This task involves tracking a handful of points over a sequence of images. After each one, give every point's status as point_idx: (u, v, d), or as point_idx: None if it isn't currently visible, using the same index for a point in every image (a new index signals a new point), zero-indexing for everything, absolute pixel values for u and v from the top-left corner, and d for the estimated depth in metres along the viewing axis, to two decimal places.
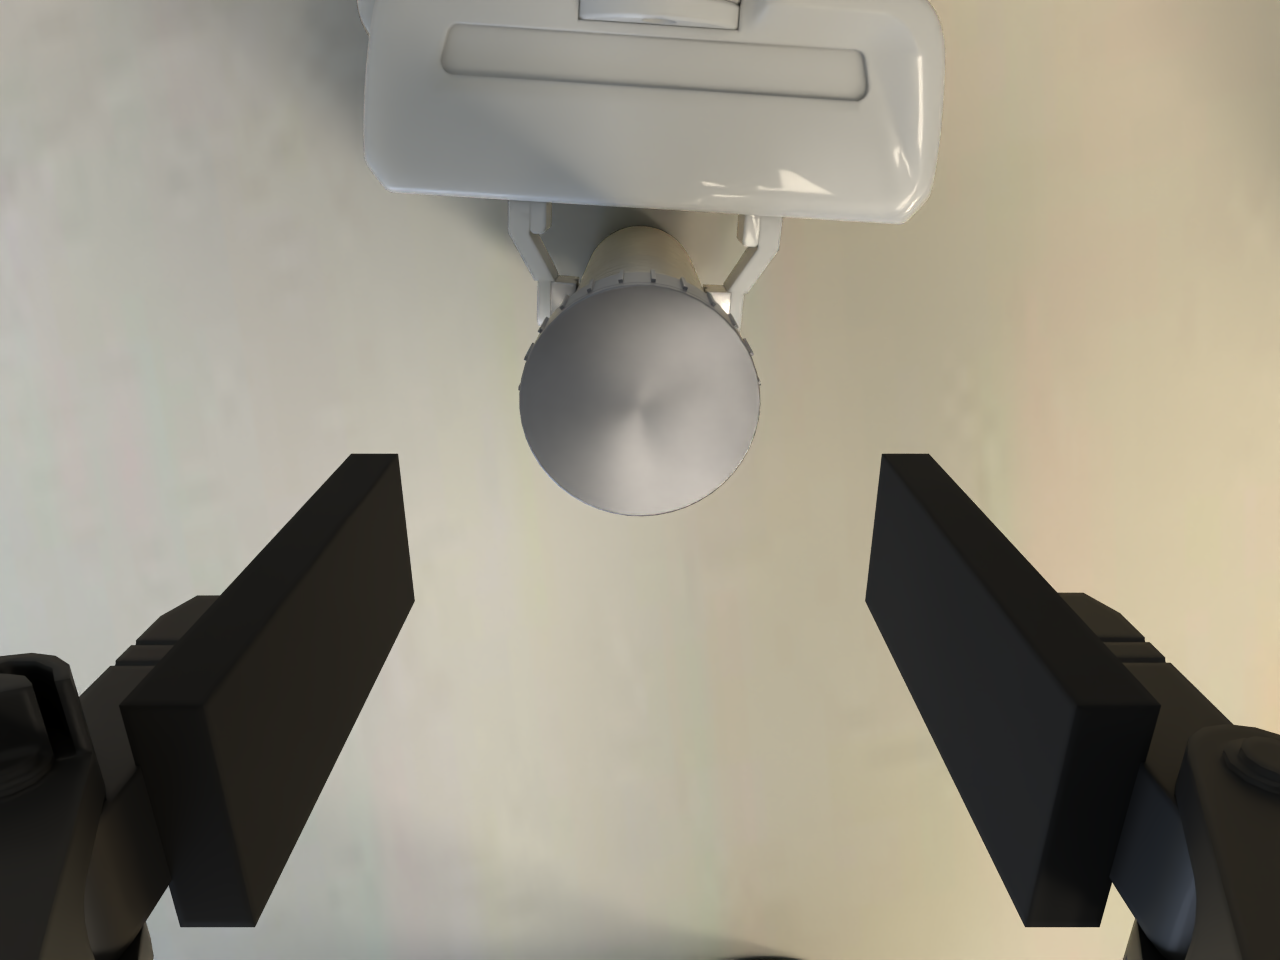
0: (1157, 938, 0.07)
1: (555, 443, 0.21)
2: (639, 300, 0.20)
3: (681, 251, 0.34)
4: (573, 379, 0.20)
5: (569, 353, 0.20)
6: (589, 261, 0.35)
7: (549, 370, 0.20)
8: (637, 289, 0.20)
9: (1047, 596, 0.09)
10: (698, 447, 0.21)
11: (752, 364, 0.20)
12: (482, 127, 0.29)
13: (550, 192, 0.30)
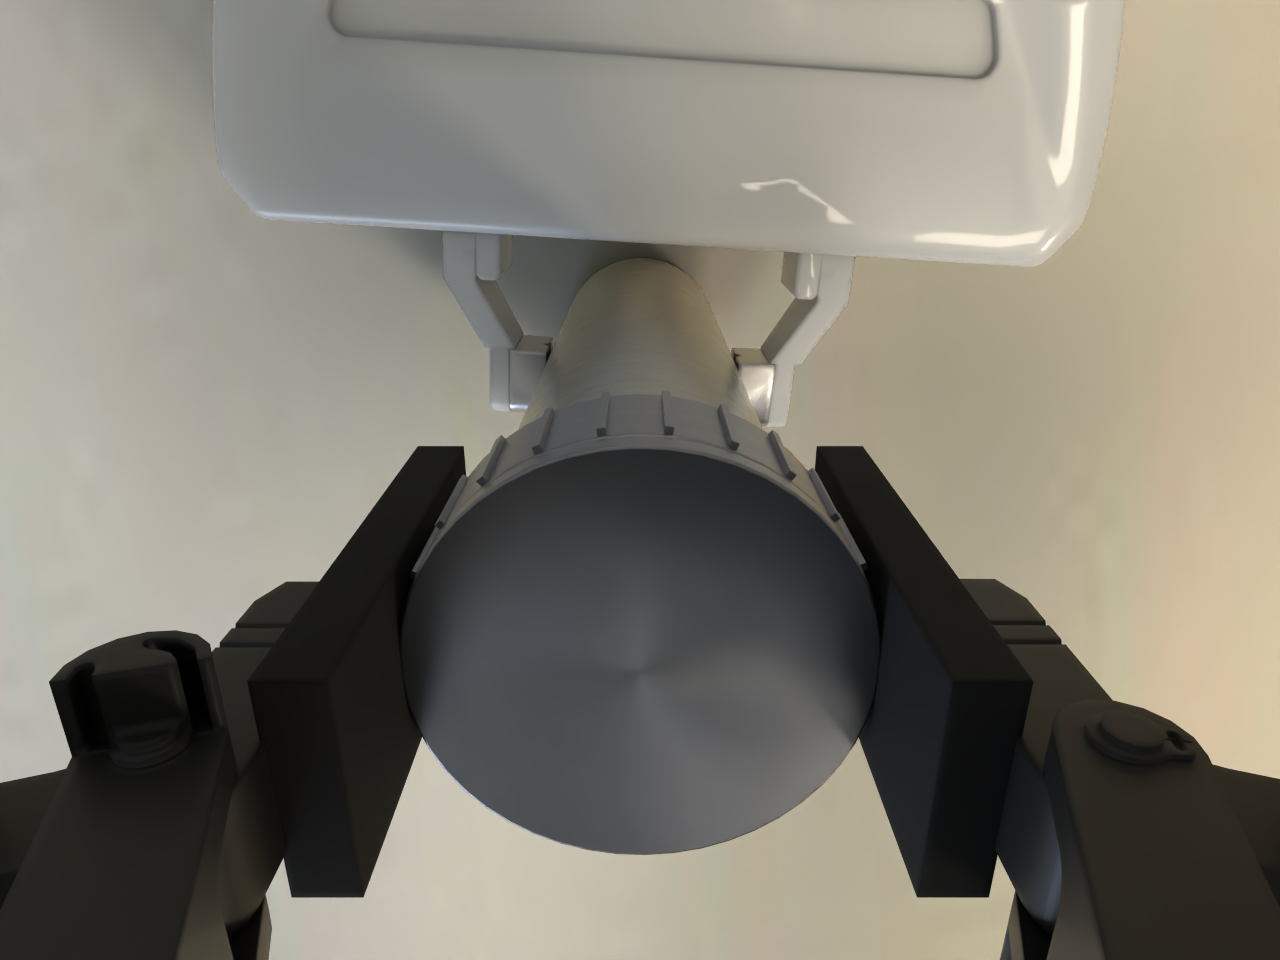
0: (1033, 909, 0.08)
1: (474, 736, 0.11)
2: (640, 476, 0.09)
3: (699, 298, 0.24)
4: (506, 624, 0.10)
5: (496, 576, 0.10)
6: (569, 310, 0.25)
7: (457, 607, 0.10)
8: (636, 454, 0.09)
9: (947, 580, 0.10)
10: (755, 742, 0.11)
11: (870, 597, 0.10)
12: (396, 120, 0.19)
13: (504, 219, 0.19)
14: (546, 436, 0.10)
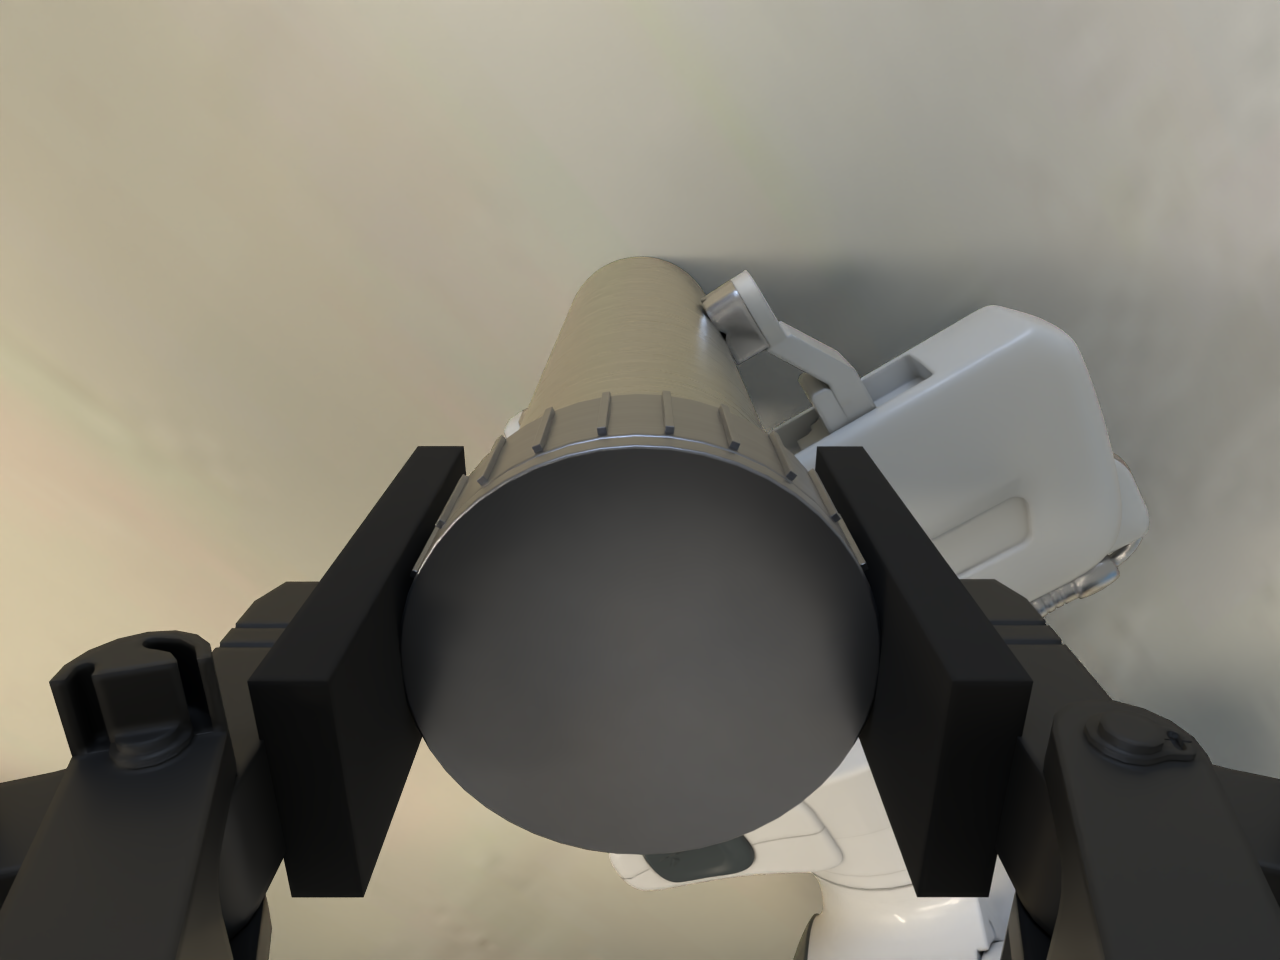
0: (1033, 909, 0.08)
1: (474, 735, 0.11)
2: (640, 476, 0.09)
3: None
4: (506, 623, 0.10)
5: (496, 576, 0.10)
6: None
7: (457, 607, 0.10)
8: (636, 454, 0.09)
9: (947, 580, 0.10)
10: (755, 742, 0.11)
11: (870, 598, 0.10)
12: (950, 470, 0.22)
13: None
14: (546, 436, 0.10)
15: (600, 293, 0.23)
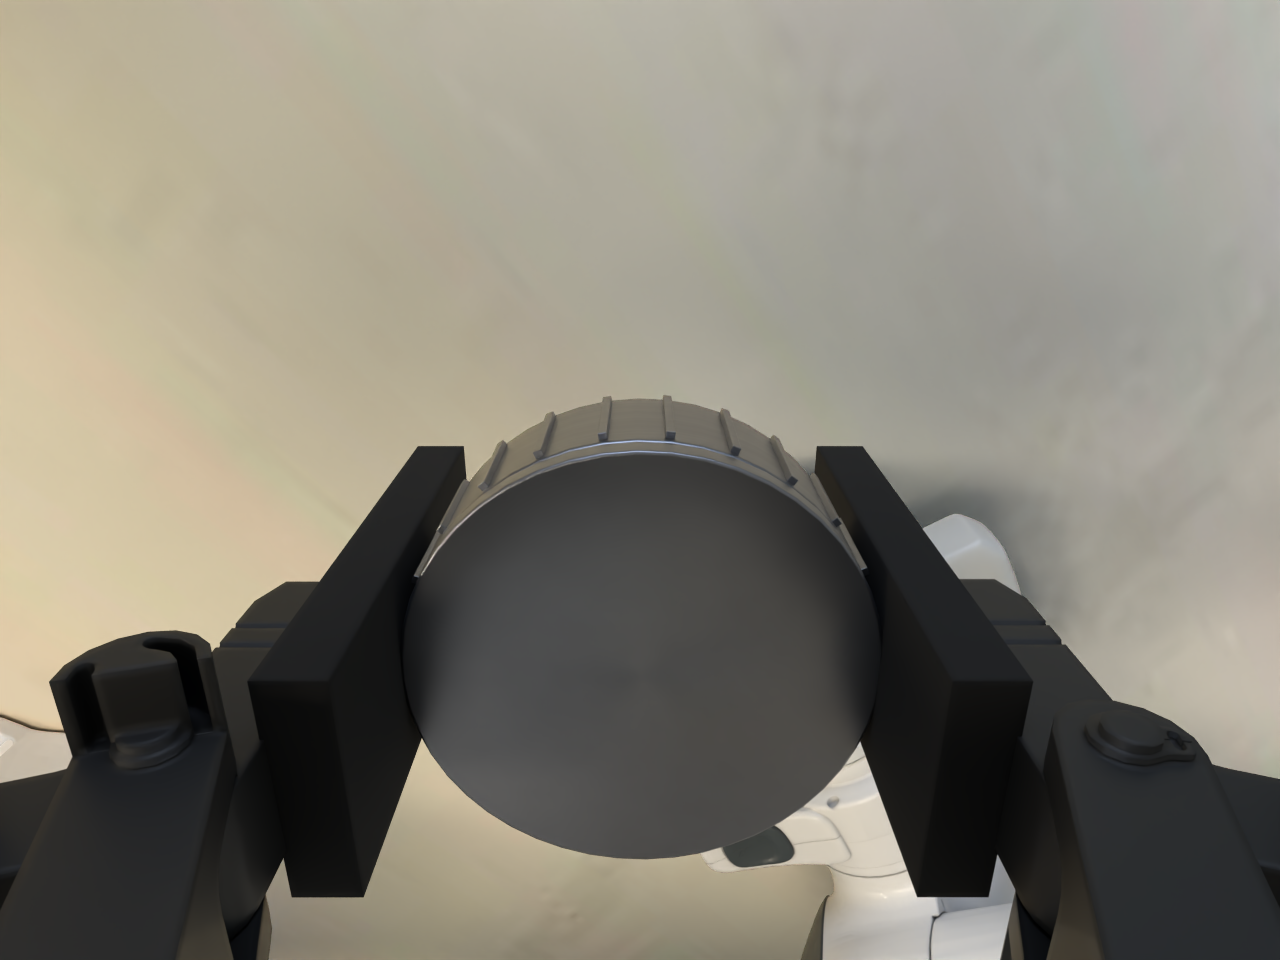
0: (1033, 909, 0.08)
1: (476, 740, 0.11)
2: (641, 482, 0.09)
3: None
4: (507, 629, 0.10)
5: (498, 581, 0.10)
6: None
7: (458, 612, 0.10)
8: (637, 460, 0.09)
9: (947, 581, 0.10)
10: (756, 747, 0.11)
11: (872, 603, 0.10)
12: None
13: None
14: (547, 441, 0.10)
15: None
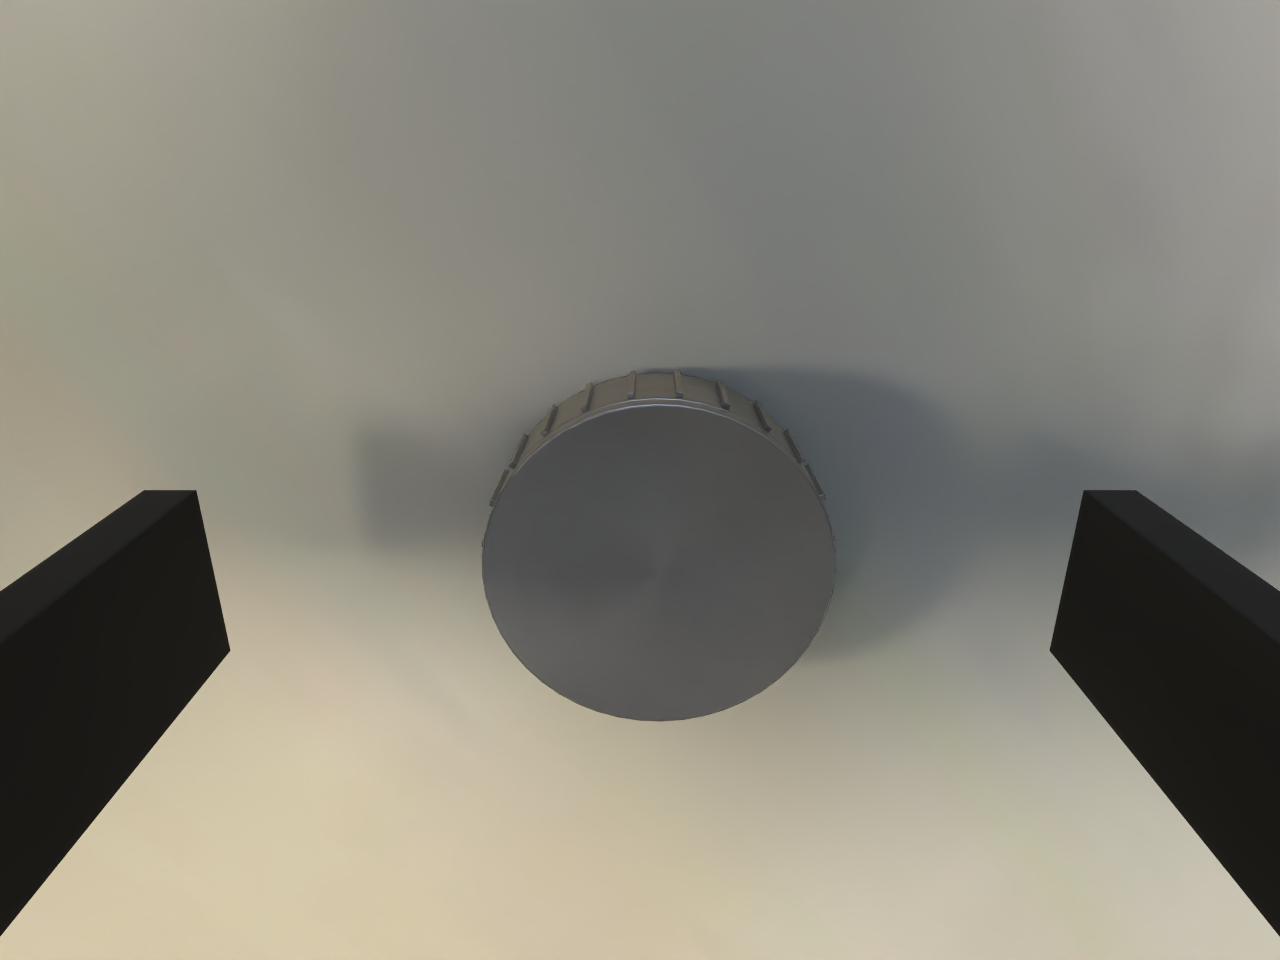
0: None
1: (535, 624, 0.14)
2: (658, 426, 0.13)
3: None
4: (560, 537, 0.14)
5: (554, 501, 0.14)
6: None
7: (525, 524, 0.14)
8: (655, 410, 0.13)
9: None
10: (743, 630, 0.14)
11: (825, 517, 0.14)
12: None
13: None
14: (589, 401, 0.14)
15: None
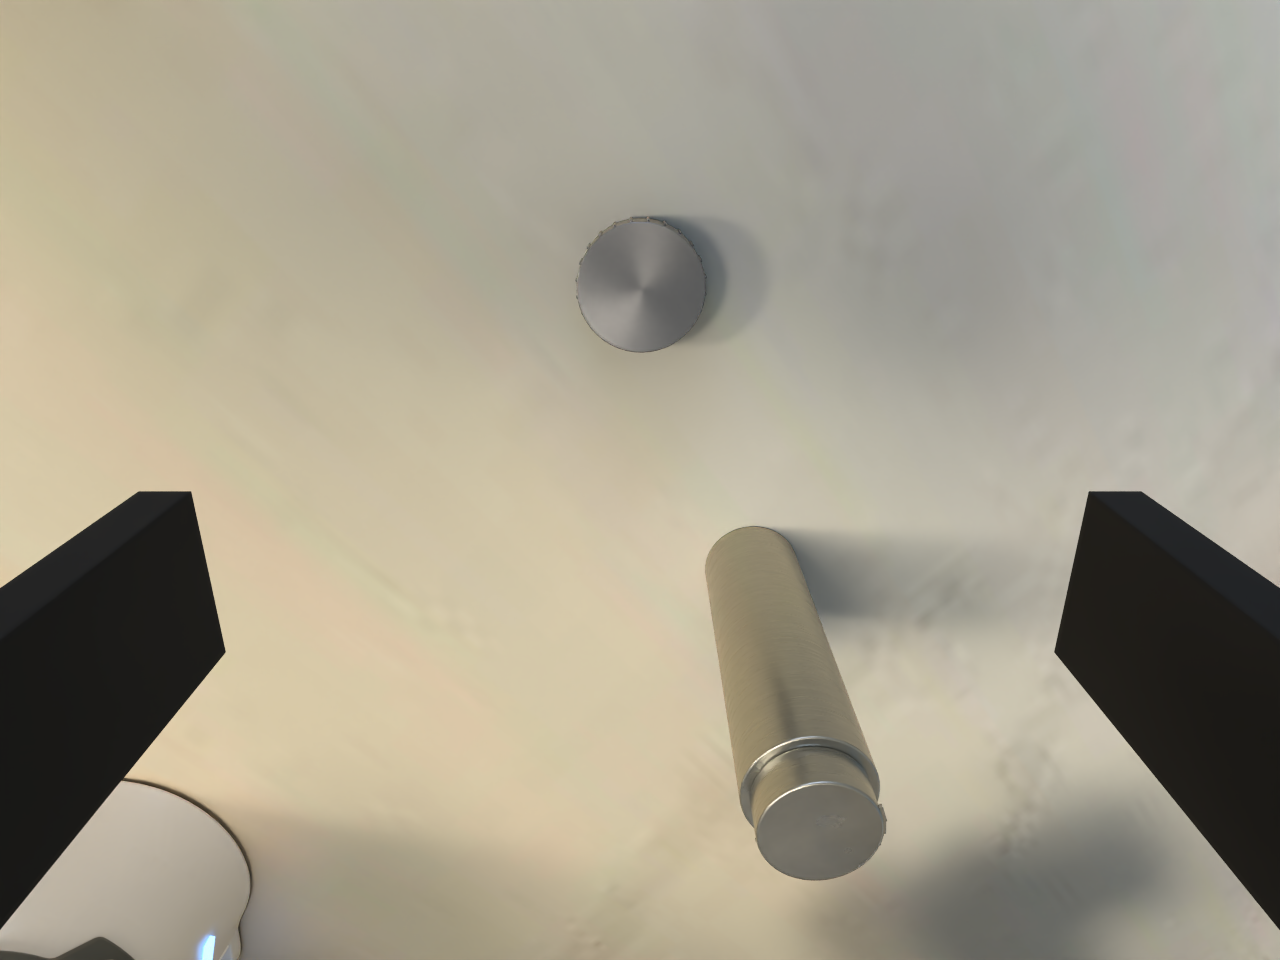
0: None
1: (595, 310, 0.39)
2: (640, 230, 0.37)
3: None
4: (605, 273, 0.38)
5: (603, 259, 0.38)
6: None
7: (593, 268, 0.38)
8: (639, 224, 0.37)
9: None
10: (672, 312, 0.39)
11: (700, 265, 0.38)
12: None
13: None
14: (616, 225, 0.38)
15: (748, 582, 0.40)
